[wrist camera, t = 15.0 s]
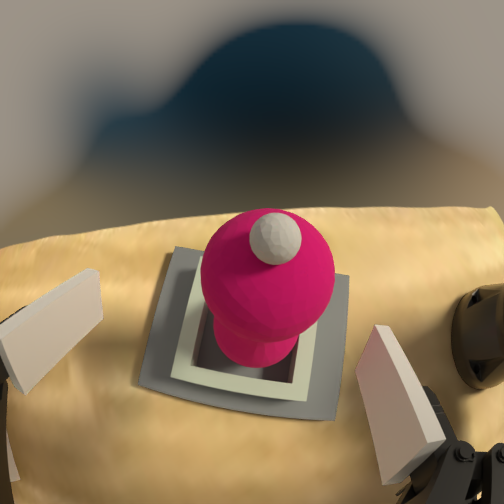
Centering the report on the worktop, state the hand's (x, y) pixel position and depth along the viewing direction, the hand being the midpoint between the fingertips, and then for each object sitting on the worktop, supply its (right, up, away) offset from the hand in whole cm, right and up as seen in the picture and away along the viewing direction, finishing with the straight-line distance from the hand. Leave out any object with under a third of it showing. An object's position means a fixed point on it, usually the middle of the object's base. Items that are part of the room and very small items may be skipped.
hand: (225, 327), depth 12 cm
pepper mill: (+1, -5, +15) cm, 16 cm away
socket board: (+1, -5, +16) cm, 17 cm away
